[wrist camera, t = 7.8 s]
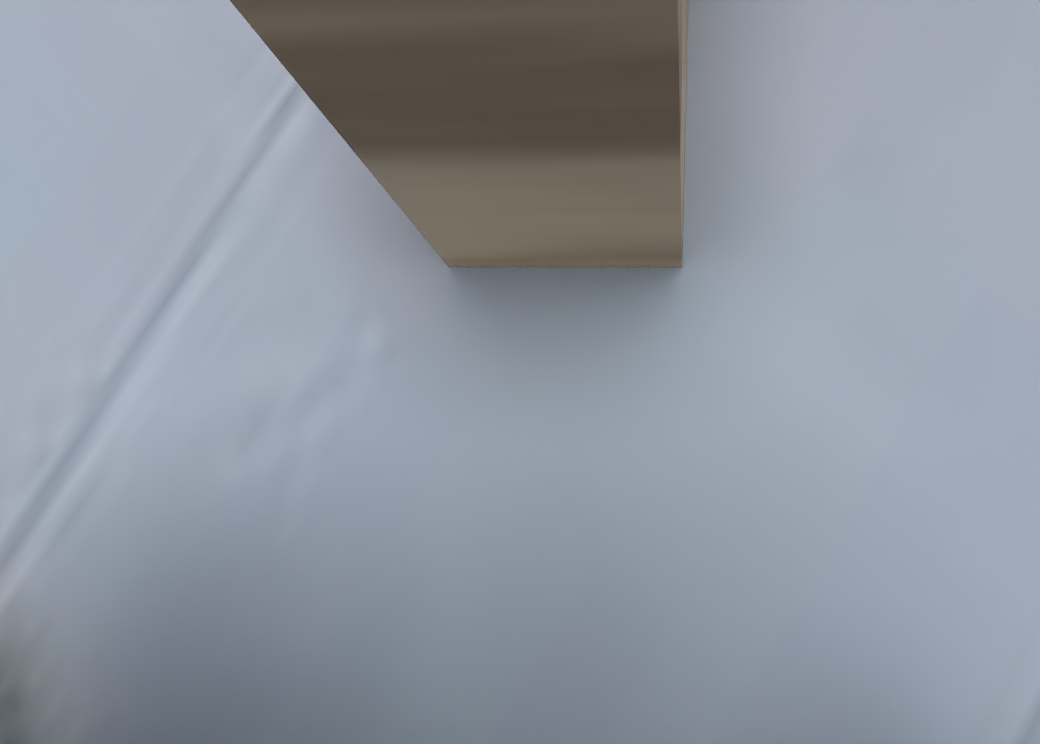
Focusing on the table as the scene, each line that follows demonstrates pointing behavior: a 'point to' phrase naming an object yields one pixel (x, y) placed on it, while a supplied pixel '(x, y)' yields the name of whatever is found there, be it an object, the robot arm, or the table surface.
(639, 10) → the tan wooden block
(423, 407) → the table surface
